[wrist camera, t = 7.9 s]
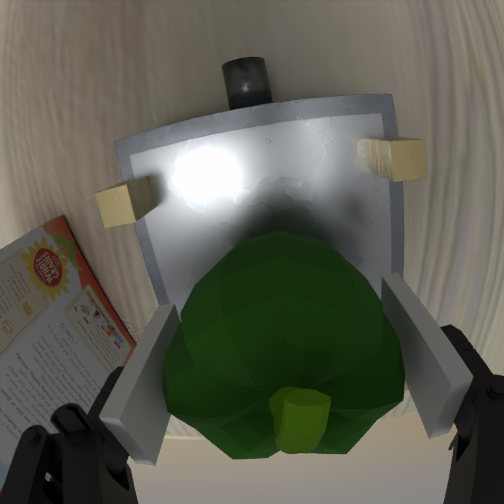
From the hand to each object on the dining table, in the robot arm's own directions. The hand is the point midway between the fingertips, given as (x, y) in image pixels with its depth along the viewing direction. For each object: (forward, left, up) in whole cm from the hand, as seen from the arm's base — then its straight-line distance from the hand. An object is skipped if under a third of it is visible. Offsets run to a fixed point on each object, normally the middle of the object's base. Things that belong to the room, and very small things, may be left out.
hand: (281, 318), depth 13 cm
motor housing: (-1, 0, -9) cm, 9 cm away
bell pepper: (0, 0, -3) cm, 3 cm away
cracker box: (+2, -18, -10) cm, 21 cm away
